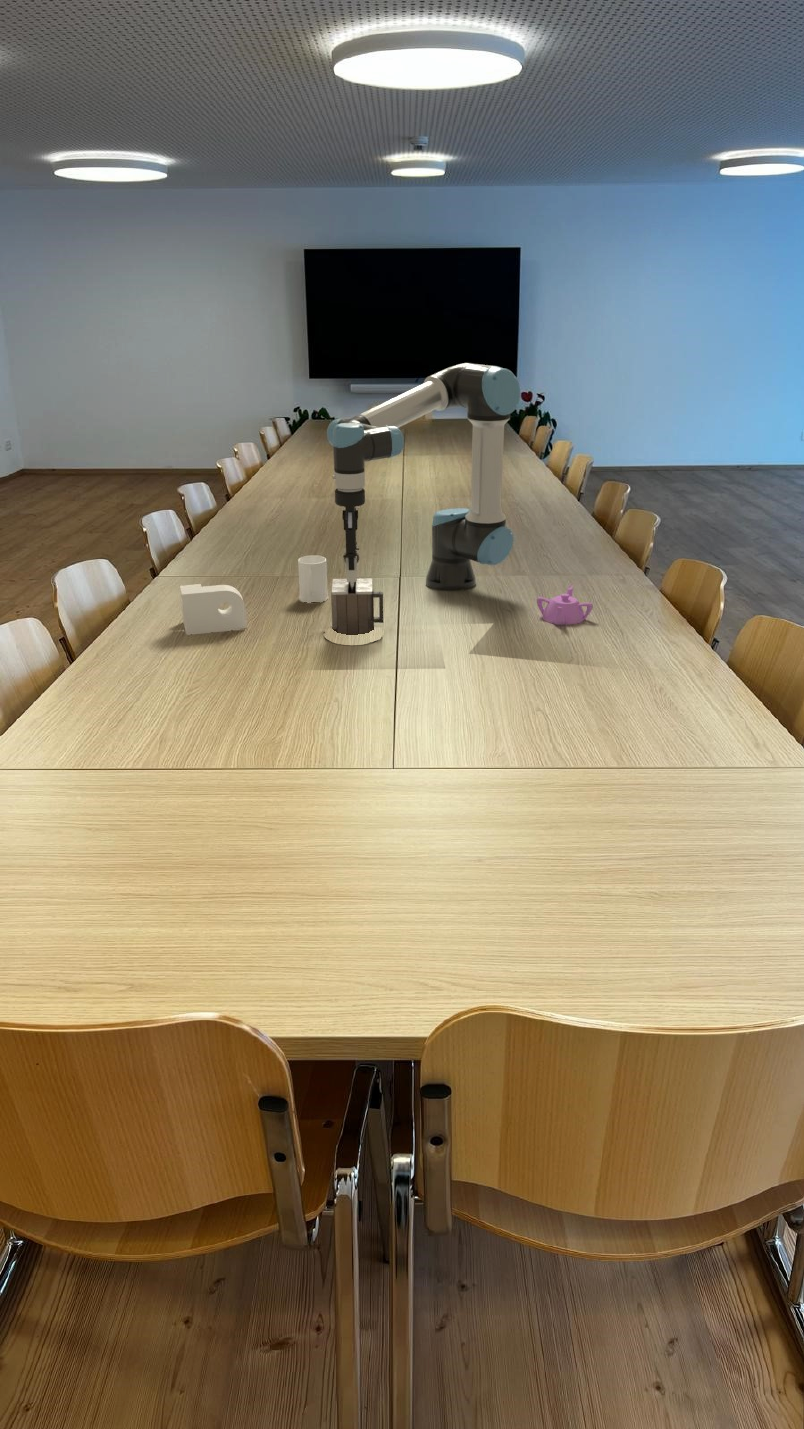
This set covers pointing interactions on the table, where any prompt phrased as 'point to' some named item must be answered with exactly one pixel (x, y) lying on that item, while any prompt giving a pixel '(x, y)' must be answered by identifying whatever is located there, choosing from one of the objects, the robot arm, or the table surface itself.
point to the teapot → (563, 609)
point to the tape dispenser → (211, 609)
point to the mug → (312, 579)
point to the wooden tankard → (354, 607)
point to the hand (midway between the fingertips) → (352, 578)
